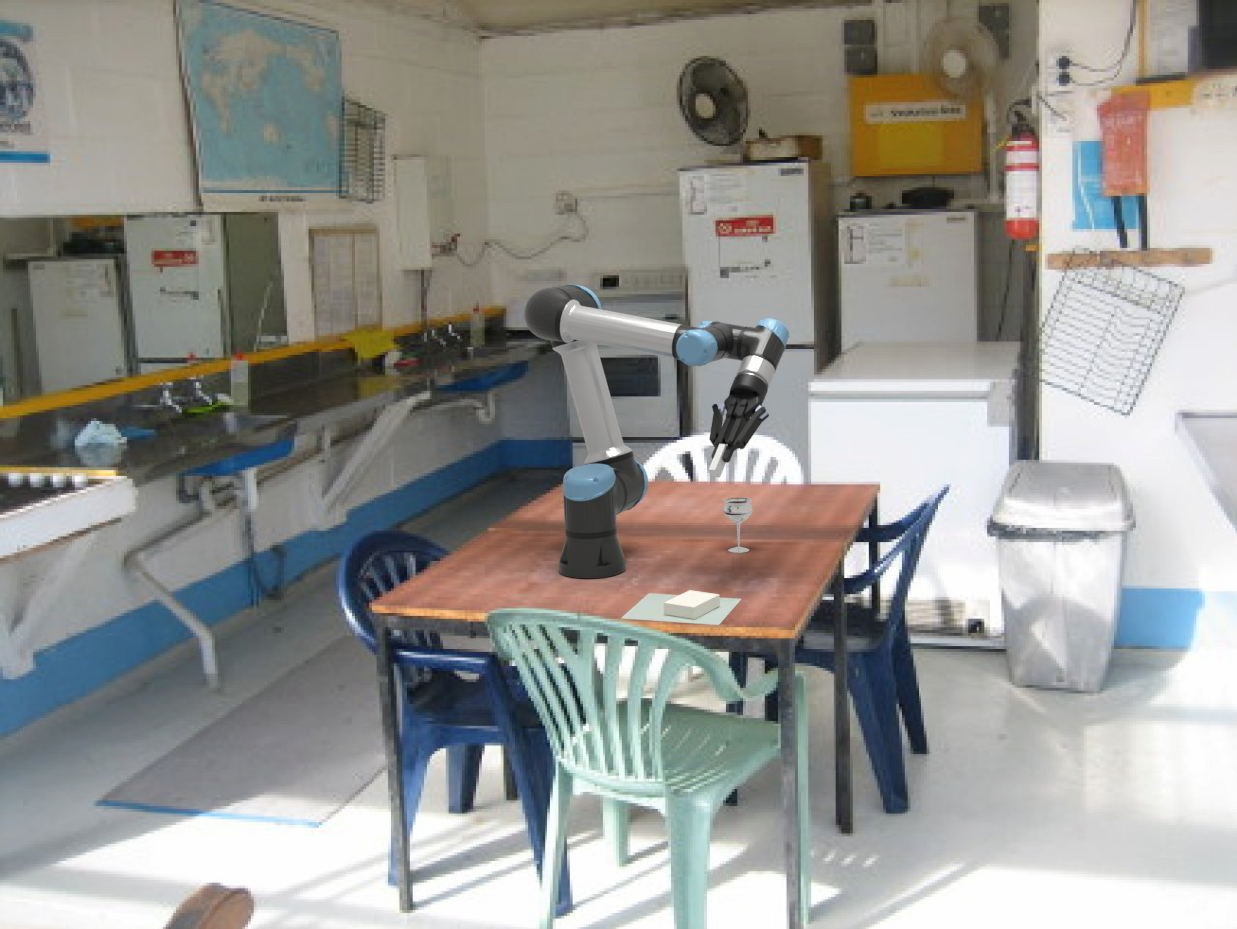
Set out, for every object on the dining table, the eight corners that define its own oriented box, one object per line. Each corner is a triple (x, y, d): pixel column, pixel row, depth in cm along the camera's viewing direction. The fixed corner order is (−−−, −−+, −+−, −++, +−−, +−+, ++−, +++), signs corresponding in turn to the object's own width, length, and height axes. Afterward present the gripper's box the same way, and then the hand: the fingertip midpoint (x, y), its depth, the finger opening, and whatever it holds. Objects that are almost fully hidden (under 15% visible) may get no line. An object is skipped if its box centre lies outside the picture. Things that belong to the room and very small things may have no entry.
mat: (620, 621, 262) (620, 618, 262) (649, 595, 279) (648, 593, 279) (718, 628, 256) (718, 625, 256) (741, 601, 272) (741, 598, 272)
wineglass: (752, 553, 310) (751, 503, 308) (723, 553, 311) (722, 503, 309) (754, 546, 317) (753, 497, 315) (725, 546, 318) (724, 497, 316)
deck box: (719, 606, 268) (694, 619, 260) (690, 602, 272) (664, 614, 264) (719, 594, 267) (693, 607, 259) (689, 590, 271) (663, 602, 263)
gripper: (785, 394, 282) (748, 486, 272) (731, 392, 289) (694, 481, 279) (773, 372, 277) (735, 465, 266) (718, 370, 284) (680, 460, 274)
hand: (714, 473), depth 273 cm, fingers closed
